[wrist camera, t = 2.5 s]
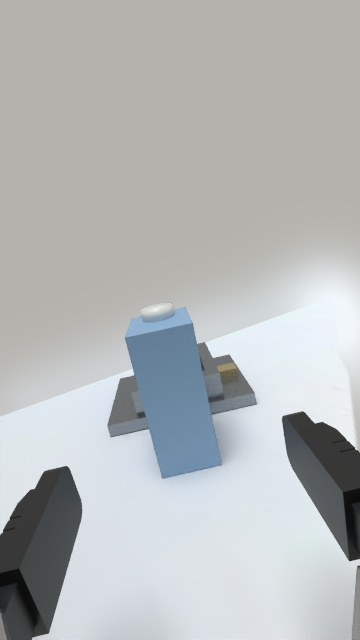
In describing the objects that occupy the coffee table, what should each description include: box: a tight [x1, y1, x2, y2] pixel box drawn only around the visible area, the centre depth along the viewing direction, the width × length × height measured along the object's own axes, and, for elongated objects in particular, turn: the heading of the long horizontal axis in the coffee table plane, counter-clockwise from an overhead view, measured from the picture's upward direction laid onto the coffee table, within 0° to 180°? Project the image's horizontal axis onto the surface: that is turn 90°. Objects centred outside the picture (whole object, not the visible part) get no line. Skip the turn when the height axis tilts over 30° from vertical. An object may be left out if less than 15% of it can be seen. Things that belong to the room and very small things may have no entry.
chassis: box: [108, 343, 256, 437], centre depth 32 cm, size 14×10×4 cm
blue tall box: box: [125, 302, 221, 478], centre depth 23 cm, size 4×5×12 cm
